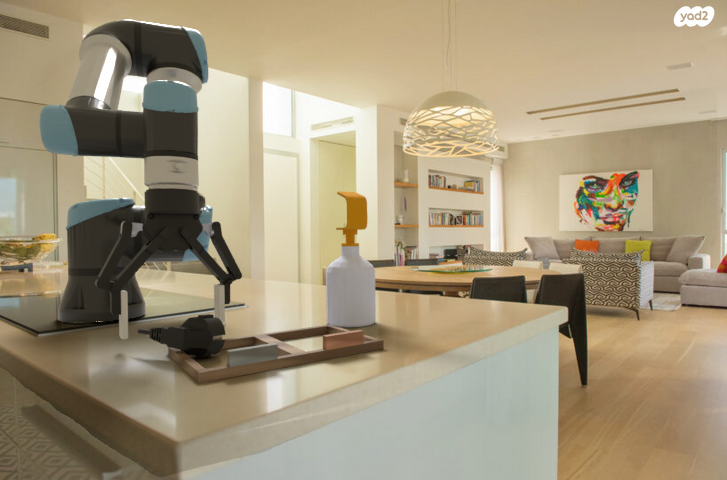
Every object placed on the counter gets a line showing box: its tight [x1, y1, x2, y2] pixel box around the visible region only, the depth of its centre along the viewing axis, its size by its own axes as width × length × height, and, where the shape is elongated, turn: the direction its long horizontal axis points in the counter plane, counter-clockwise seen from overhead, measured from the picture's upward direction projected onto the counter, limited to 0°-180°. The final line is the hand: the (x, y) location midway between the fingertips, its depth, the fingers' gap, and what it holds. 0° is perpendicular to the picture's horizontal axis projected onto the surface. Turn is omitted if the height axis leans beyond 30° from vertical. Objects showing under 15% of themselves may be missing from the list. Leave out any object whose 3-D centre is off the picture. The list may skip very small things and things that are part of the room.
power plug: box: [137, 313, 226, 359], centre depth 65 cm, size 6×8×12 cm
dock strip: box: [167, 324, 385, 384], centre depth 66 cm, size 15×26×3 cm, turn 125°
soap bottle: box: [325, 190, 377, 329], centre depth 86 cm, size 9×9×25 cm
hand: (174, 331), depth 70 cm, fingers open, 13 cm apart
